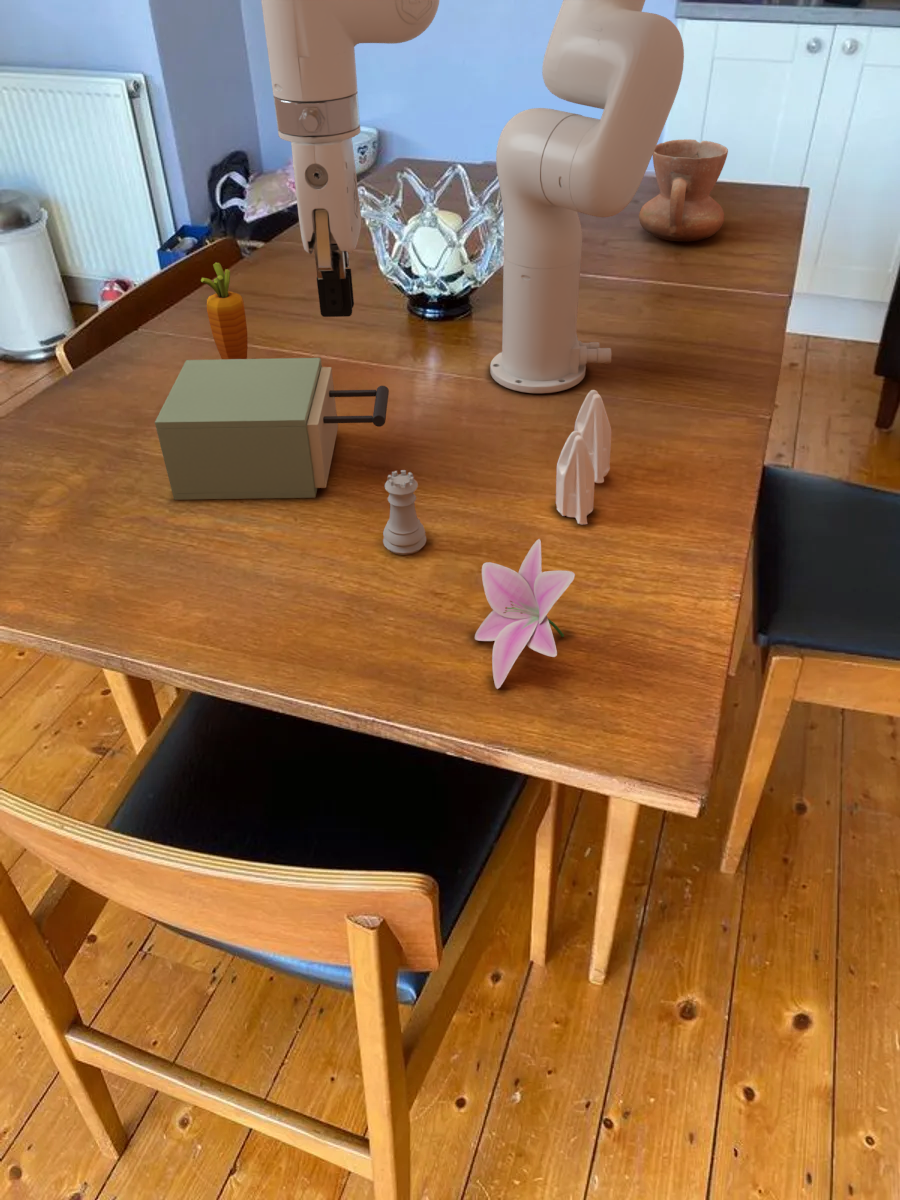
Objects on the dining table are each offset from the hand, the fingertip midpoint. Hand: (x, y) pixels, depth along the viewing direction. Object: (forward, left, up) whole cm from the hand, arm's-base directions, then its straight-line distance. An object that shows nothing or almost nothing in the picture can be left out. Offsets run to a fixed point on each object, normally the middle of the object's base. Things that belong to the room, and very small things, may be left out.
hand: (337, 310), depth 96 cm
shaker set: (-26, +7, -18) cm, 32 cm away
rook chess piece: (-7, +16, -18) cm, 25 cm away
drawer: (+6, 0, -17) cm, 18 cm away
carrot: (+17, -22, -18) cm, 33 cm away
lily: (-18, +32, -18) cm, 41 cm away
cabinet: (+11, 0, -18) cm, 21 cm away
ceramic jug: (-51, -74, -18) cm, 92 cm away
